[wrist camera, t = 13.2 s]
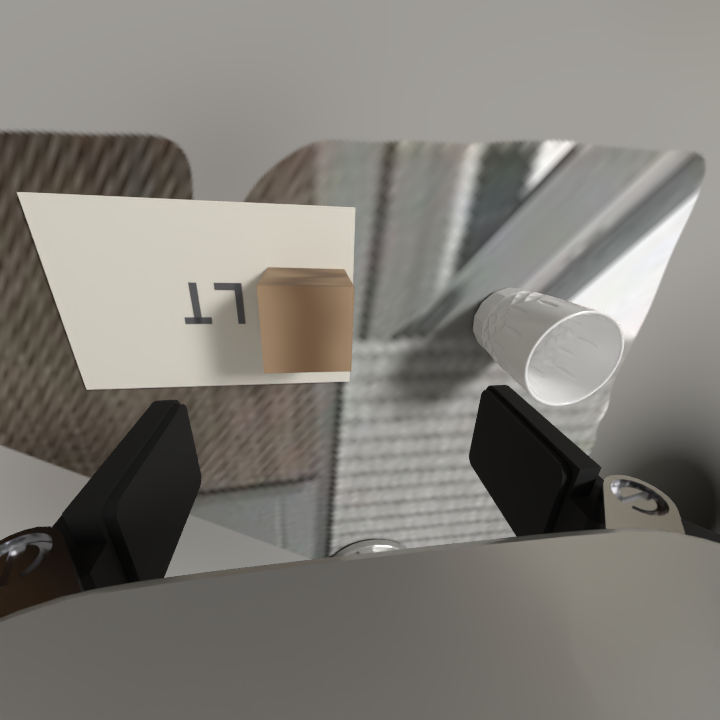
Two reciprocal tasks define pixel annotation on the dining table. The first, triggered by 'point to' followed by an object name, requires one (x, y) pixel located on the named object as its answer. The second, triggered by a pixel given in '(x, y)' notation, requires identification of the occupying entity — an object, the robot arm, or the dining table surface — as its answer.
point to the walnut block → (306, 320)
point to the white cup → (549, 344)
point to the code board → (176, 282)
